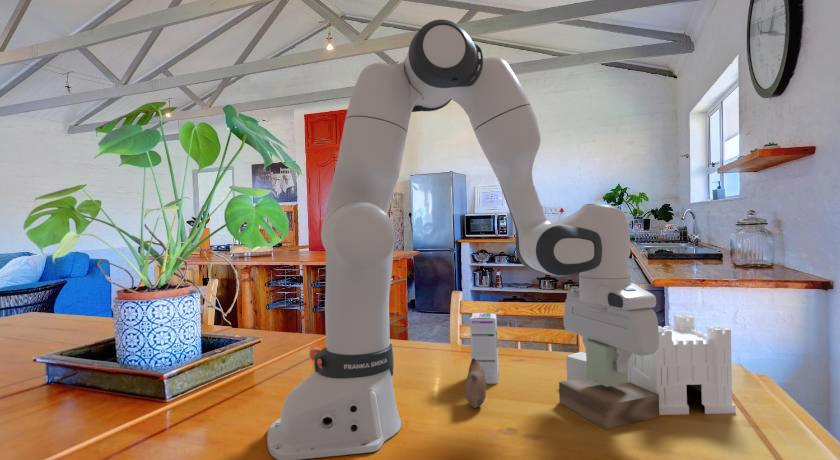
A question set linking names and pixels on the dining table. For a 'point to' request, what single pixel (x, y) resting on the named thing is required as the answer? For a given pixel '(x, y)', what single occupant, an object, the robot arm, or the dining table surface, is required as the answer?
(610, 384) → the green block
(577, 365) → the grey block
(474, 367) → the brown tapered rounded piece
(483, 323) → the syrup box
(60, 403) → the dining table surface
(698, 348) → the castle model
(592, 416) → the walnut block
